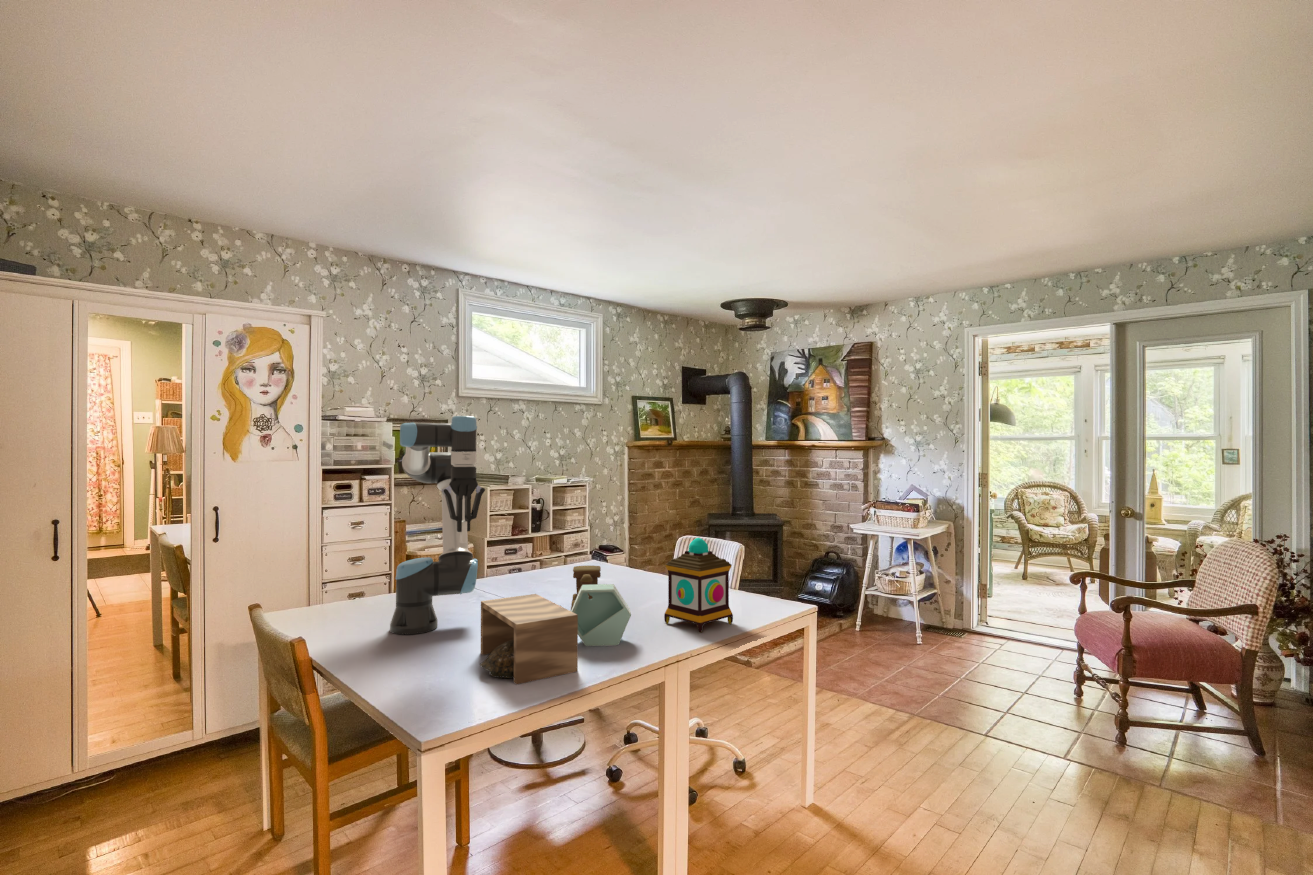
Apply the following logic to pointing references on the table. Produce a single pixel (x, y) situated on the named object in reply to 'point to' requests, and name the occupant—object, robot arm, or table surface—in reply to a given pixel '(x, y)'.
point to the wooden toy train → (585, 578)
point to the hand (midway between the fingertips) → (463, 542)
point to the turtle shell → (501, 660)
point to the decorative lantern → (698, 586)
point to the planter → (601, 615)
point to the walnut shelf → (532, 635)
